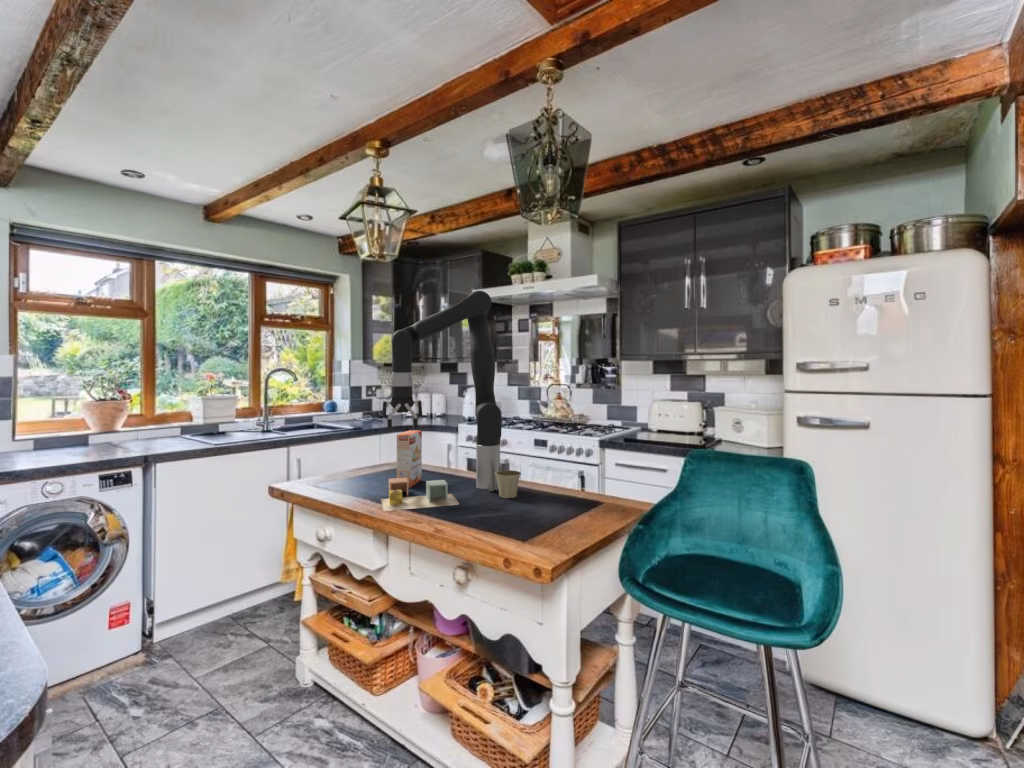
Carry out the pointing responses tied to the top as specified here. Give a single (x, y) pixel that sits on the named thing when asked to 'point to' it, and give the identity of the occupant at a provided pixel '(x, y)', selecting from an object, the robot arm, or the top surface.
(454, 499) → the board
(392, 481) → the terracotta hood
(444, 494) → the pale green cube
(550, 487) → the top surface
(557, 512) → the top surface
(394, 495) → the letter cube
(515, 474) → the flower pot
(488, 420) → the robot arm
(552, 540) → the top surface
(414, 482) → the cracker box
